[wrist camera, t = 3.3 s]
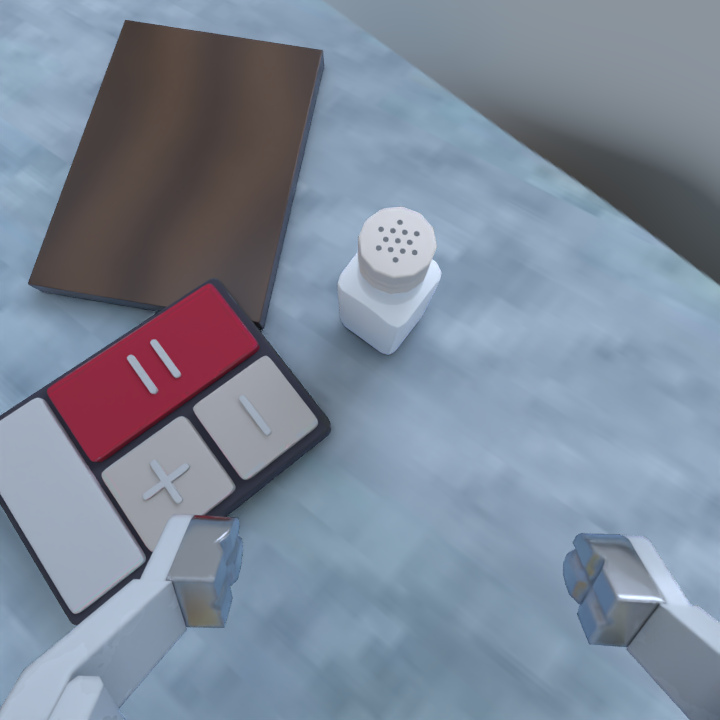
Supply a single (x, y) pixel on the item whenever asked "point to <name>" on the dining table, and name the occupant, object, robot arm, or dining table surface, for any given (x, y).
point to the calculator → (149, 443)
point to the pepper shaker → (389, 278)
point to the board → (183, 171)
